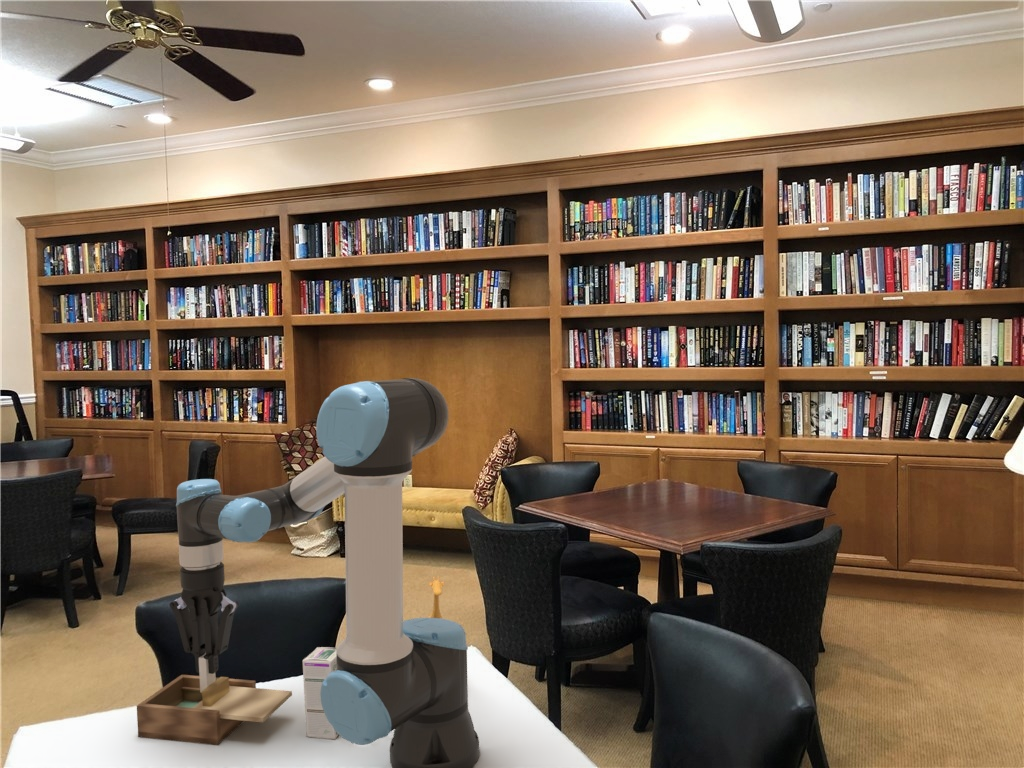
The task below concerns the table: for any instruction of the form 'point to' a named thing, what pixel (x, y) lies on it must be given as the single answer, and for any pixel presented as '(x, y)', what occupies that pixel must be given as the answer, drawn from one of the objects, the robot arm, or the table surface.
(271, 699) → the cover plate
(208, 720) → the walnut box
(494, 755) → the table surface
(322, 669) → the syrup box
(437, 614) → the giraffe
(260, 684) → the table surface
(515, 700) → the table surface
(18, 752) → the table surface
